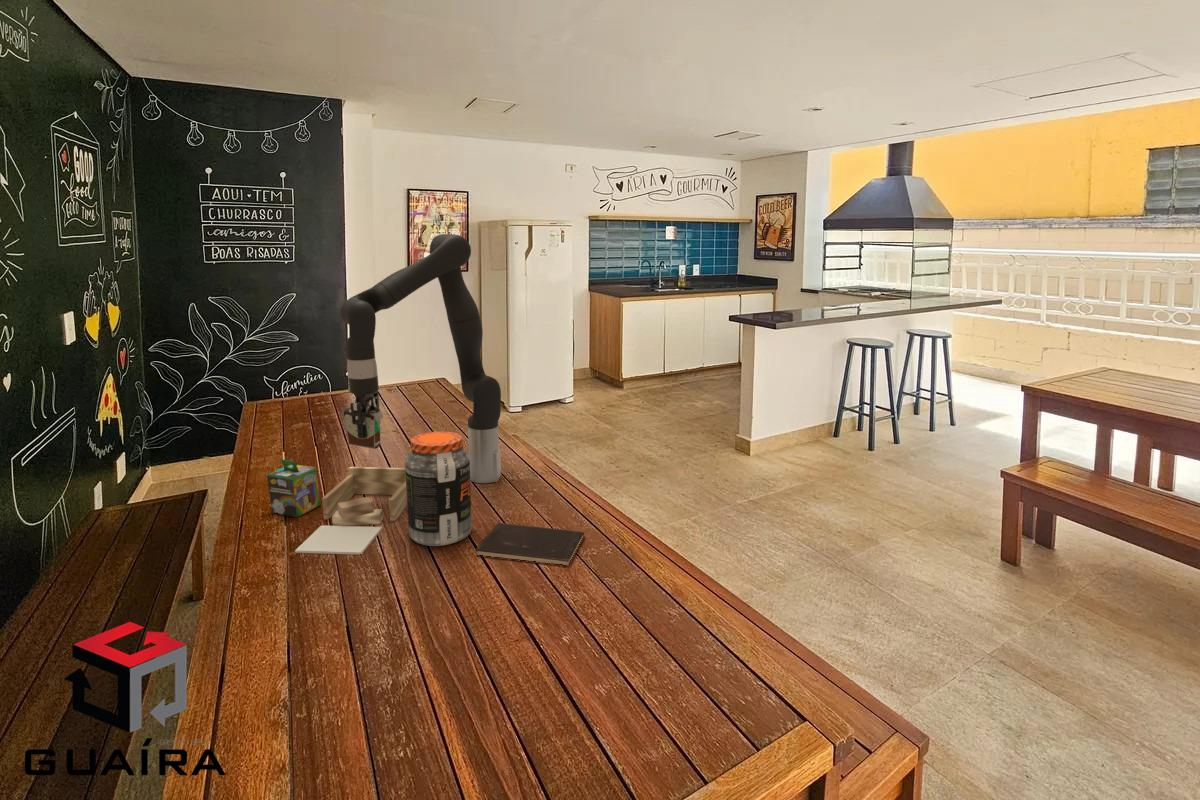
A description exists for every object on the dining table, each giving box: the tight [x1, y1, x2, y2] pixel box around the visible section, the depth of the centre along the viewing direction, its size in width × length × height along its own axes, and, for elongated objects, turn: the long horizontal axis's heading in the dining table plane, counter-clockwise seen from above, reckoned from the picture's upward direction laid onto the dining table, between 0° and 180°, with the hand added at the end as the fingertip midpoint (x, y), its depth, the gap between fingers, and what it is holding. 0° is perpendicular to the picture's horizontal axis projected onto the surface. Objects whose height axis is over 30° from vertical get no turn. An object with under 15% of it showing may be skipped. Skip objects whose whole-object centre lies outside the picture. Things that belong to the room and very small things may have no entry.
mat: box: [294, 524, 383, 556], centre depth 164 cm, size 16×14×1 cm
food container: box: [341, 407, 384, 450], centre depth 180 cm, size 12×6×10 cm, turn 65°
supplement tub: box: [404, 431, 473, 547], centre depth 165 cm, size 16×16×26 cm
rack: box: [321, 466, 407, 522], centre depth 184 cm, size 19×19×8 cm
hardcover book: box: [475, 522, 585, 566], centre depth 162 cm, size 16×23×2 cm
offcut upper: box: [338, 496, 374, 519], centre depth 174 cm, size 8×4×3 cm, turn 125°
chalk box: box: [266, 458, 322, 518], centre depth 180 cm, size 9×9×15 cm
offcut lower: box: [331, 508, 384, 526], centre depth 175 cm, size 12×4×3 cm, turn 97°
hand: (367, 433), depth 180 cm, fingers closed on food container, 7 cm apart
